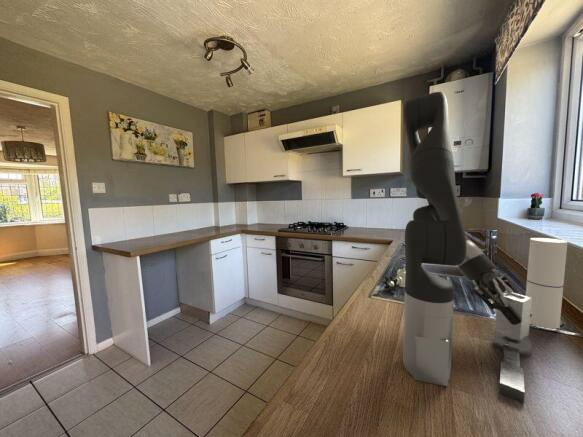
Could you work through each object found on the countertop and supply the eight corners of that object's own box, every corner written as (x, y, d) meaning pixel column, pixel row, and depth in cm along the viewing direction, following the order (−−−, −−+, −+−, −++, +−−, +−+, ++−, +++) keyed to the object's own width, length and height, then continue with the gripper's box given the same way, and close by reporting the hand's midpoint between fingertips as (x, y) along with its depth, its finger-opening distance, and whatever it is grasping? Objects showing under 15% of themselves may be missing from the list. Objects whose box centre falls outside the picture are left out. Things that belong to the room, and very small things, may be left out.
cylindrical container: (522, 323, 70) (528, 240, 67) (525, 315, 74) (531, 236, 72) (558, 334, 64) (567, 243, 62) (559, 324, 69) (567, 240, 66)
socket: (528, 334, 58) (531, 297, 57) (519, 340, 56) (523, 302, 55) (504, 325, 62) (506, 290, 61) (495, 330, 60) (497, 294, 59)
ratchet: (493, 335, 64) (494, 316, 64) (530, 346, 59) (531, 325, 59) (487, 388, 47) (488, 362, 46) (537, 409, 42) (540, 380, 42)
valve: (396, 282, 104) (382, 289, 96) (396, 268, 103) (382, 274, 96) (411, 286, 99) (398, 294, 91) (412, 271, 98) (399, 278, 91)
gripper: (466, 256, 60) (525, 323, 51) (494, 249, 67) (551, 307, 57) (444, 270, 66) (494, 333, 56) (472, 263, 72) (521, 318, 63)
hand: (522, 320), depth 57 cm, fingers closed on socket, 4 cm apart
